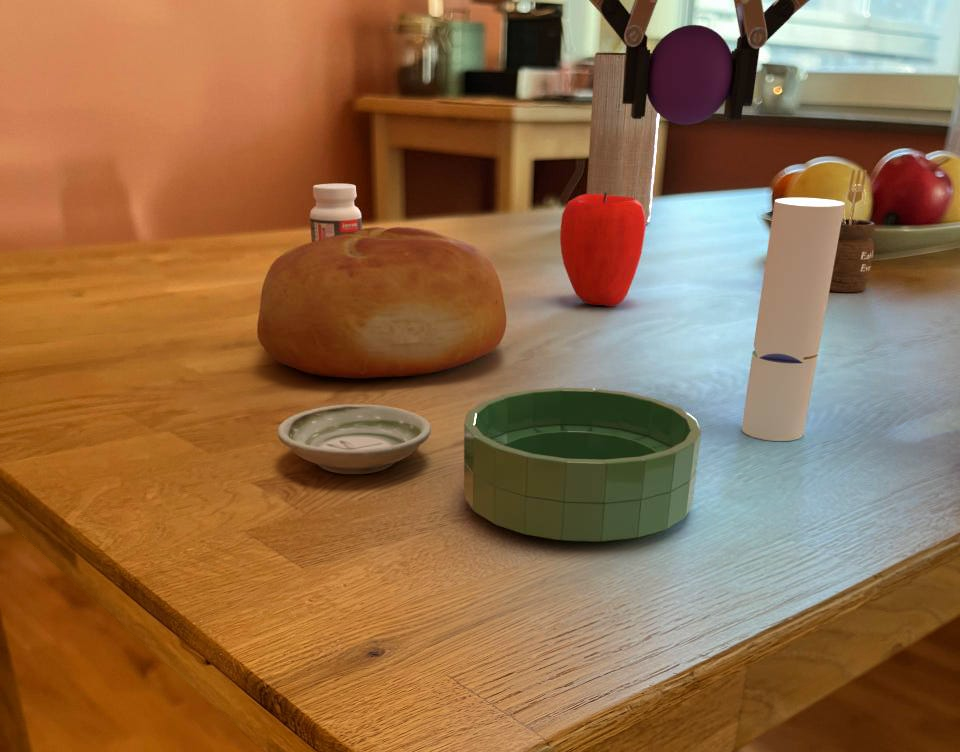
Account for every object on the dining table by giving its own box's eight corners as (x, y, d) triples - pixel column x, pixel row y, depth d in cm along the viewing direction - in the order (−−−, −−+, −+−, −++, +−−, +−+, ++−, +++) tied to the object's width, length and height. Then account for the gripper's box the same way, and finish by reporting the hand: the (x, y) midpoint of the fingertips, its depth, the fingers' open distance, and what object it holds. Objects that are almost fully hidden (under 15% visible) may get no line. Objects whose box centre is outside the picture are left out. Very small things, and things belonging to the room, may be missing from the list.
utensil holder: (811, 291, 114) (831, 174, 108) (812, 280, 119) (831, 168, 113) (866, 295, 112) (890, 176, 106) (865, 284, 118) (887, 170, 112)
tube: (779, 418, 74) (816, 196, 67) (816, 437, 71) (859, 205, 63) (729, 425, 73) (761, 198, 65) (764, 444, 69) (802, 207, 62)
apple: (540, 298, 109) (545, 188, 103) (608, 291, 112) (616, 185, 107) (585, 315, 102) (592, 199, 97) (656, 307, 106) (667, 195, 100)
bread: (198, 346, 90) (183, 226, 85) (410, 311, 103) (408, 204, 98) (340, 409, 75) (332, 267, 70) (568, 358, 88) (574, 235, 83)
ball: (721, 122, 69) (732, 26, 66) (733, 128, 64) (746, 24, 61) (638, 121, 69) (646, 25, 66) (644, 126, 64) (652, 23, 62)
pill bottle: (351, 286, 113) (346, 189, 108) (305, 283, 115) (298, 187, 110) (372, 277, 118) (368, 184, 113) (327, 274, 119) (322, 181, 114)
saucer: (462, 460, 66) (462, 424, 65) (350, 502, 60) (348, 463, 59) (361, 426, 72) (359, 393, 70) (249, 462, 65) (245, 425, 64)
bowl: (675, 467, 65) (684, 390, 63) (704, 555, 54) (716, 466, 52) (471, 461, 66) (471, 385, 63) (457, 547, 55) (457, 459, 52)
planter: (616, 216, 163) (628, 52, 152) (663, 223, 157) (679, 53, 145) (571, 221, 158) (580, 52, 146) (619, 229, 151) (632, 53, 140)
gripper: (569, -259, 54) (552, 119, 64) (895, -260, 54) (831, 125, 63) (568, -227, 61) (553, 113, 70) (859, -227, 60) (806, 117, 69)
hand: (685, 115), depth 66 cm, fingers closed on ball, 5 cm apart
